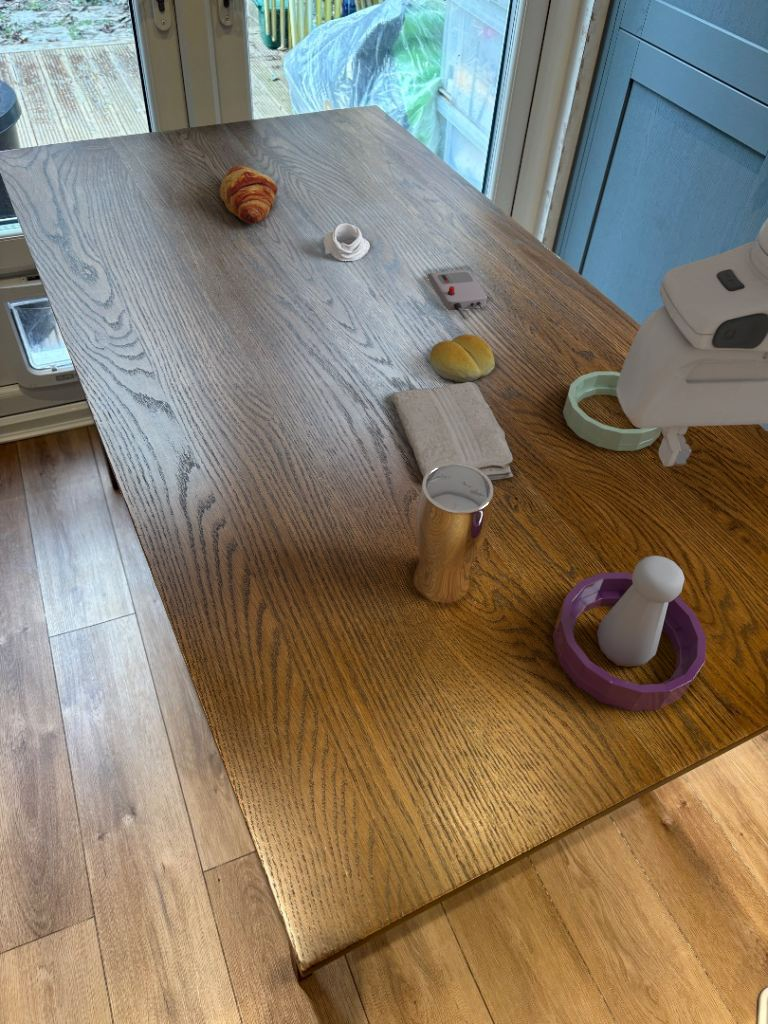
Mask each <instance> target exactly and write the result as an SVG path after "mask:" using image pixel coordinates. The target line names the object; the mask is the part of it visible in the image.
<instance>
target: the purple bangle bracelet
mask: <svg viewBox="0 0 768 1024" xmlns="http://www.w3.org/2000/svg"><path fill="white" fill-rule="evenodd" d="M632 576H633V573H630V572H626V571H622V572H621V571H619V572H599V573H597V574H595V575H592V576H589V577H587V578H585V579H581V580H580V581H578V582H577V583H576V584H575V585H574V587H572V589H571V590H570V591H569V592H568V593H567V594H566V596H564V598H563V601H562V604H561V607H560V609H559V611H558V615H557V617H556V621H555V624H554V625H555V627H554V630H553V636H552V641H553V645H554V648H555V652H556V655H557V660H558V662H559V665H561V667H562V669H563V670H564V671H565V673H566V674H567V675H568V677H569V678H570V680H572V681H573V683H574V684H575V685H576V686H577V687H579V688H580V690H582V691H584V692H585V693H587V694H589V695H590V696H591V697H592V698H594V699H596V700H597V701H598V702H600V703H603V704H605V705H609V706H612V707H616V708H618V709H622V710H625V711H629V712H640V711H643V712H644V711H658V710H661V709H663V708H665V707H667V706H669V705H671V704H673V703H675V702H677V701H679V700H680V699H682V697H683V695H684V694H685V692H686V691H687V690H688V688H689V687H690V685H691V684H692V683H693V682H694V680H695V678H696V676H697V675H698V674H699V672H700V670H701V668H702V667H703V666H704V664H705V663H706V651H707V650H706V649H707V637H706V634H705V632H704V630H703V627H702V625H701V623H700V620H699V618H698V616H697V614H696V613H695V612H694V611H693V610H692V609H691V607H690V606H689V605H688V604H687V603H686V602H685V601H684V599H682V597H680V596H679V595H678V596H677V597H676V598H675V599H674V600H672V601H671V602H668V607H667V611H666V615H665V619H664V623H663V627H662V632H663V633H664V634H665V635H666V636H667V637H668V639H669V641H670V644H671V646H672V649H673V651H674V654H675V663H674V672H673V673H672V675H671V676H670V678H669V679H666V680H665V681H662V682H661V683H651V684H649V683H648V684H639V683H635V682H632V681H629V680H625V679H622V678H619V677H616V676H613V675H612V674H610V673H608V672H607V671H606V670H604V669H603V668H601V667H600V666H598V665H597V664H596V663H594V662H593V661H591V660H590V659H589V657H588V656H587V655H586V653H585V652H584V651H583V650H582V648H581V647H580V646H579V644H578V643H577V642H576V639H575V634H574V631H575V626H576V622H577V621H578V620H579V619H580V617H581V616H582V615H583V614H584V613H586V612H589V611H591V610H593V609H596V608H598V607H611V606H612V607H614V605H615V604H616V603H617V602H618V601H619V600H620V598H621V597H622V596H623V595H624V594H625V593H626V591H627V590H628V589H629V588H630V587H631V586H632V584H633V582H632Z"/></svg>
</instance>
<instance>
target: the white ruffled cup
mask: <svg viewBox="0 0 768 1024" xmlns="http://www.w3.org/2000/svg"><path fill="white" fill-rule="evenodd" d="M322 242H323V246H324V253H325V254H326V255H331V256H332V257H333V258H335V259H336V260H338V261H341V262H344V261H345V263H347V262H346V261H352V262H356V261H358V260H360V259H362V258H363V257H364V256H366V255H367V253H368V252H369V250H370V247H371V245H370V242H369V241H368V240H367V239H366V238H365V237H363V234H362V232H361V230H360V229H359V227H357V226H356V225H354V224H350V223H347V222H346V223H345V222H344V223H340V224H338V225H337V226H335V227H334V229H333V231H330V232H328V233H326V234H325V236H324V237H323V241H322Z"/></svg>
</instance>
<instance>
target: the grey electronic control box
mask: <svg viewBox="0 0 768 1024" xmlns="http://www.w3.org/2000/svg"><path fill="white" fill-rule="evenodd" d="M426 278H427V280H428V279H429V280H428V281H429V283H430V285H431V284H432V285H431V286H432V288H433V289H435V290H434V292H435V293H436V294H437V296H438V298H439V297H440V298H439V300H440V301H441V303H442V302H443V303H442V305H443V306H444V308H445V307H446V308H445V309H446V310H447V309H448V310H447V311H450V310H457V311H456V312H458V313H459V315H461V317H462V318H463V319H464V320H466V317H467V316H466V315H465V313H464V310H463V309H470V310H476V309H475V308H477V309H481V310H482V311H483V310H484V307H486V306H487V301H488V295H487V294H486V293H485V291H484V290H483V288H482V287H481V285H480V284H479V282H478V281H477V280H476V278H475V277H474V275H473V273H472V272H471V271H470V270H469V269H455V270H444V271H436V272H435V271H434V272H429V273H427V277H426ZM485 305H486V306H485ZM483 306H484V307H483ZM479 307H480V308H479ZM472 308H474V309H472Z"/></svg>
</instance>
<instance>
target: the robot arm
mask: <svg viewBox="0 0 768 1024" xmlns="http://www.w3.org/2000/svg"><path fill="white" fill-rule="evenodd" d="M659 295H660V298H661V300H662V302H663V303H662V304H663V306H661V307H659V308H657V309H656V310H654V311H653V312H651V313H650V314H649V316H647V317H646V318H645V320H644V321H643V323H642V324H641V325H640V327H639V328H638V331H637V333H636V335H635V336H634V339H633V341H632V343H631V345H630V348H629V350H628V352H627V355H626V357H625V360H624V361H623V362H624V363H623V365H622V368H621V370H620V372H619V373H620V376H619V379H618V383H617V389H616V391H617V400H618V403H619V404H620V407H621V409H622V411H623V413H624V415H625V416H626V417H627V419H628V420H629V422H630V423H631V424H632V425H633V426H634V427H636V429H641V428H657V427H660V428H661V435H662V436H663V438H662V440H661V443H660V445H659V448H658V457H659V459H660V462H661V464H662V465H663V467H682V466H683V467H684V466H686V464H687V462H688V461H687V460H688V458H690V455H691V454H692V449H691V447H690V445H689V444H688V443H687V440H686V438H685V434H687V432H688V429H689V428H690V427H713V426H715V427H717V426H718V427H720V426H721V427H722V426H746V425H747V426H749V425H752V426H753V425H768V216H767V217H766V219H765V220H764V221H763V223H762V225H761V227H760V229H759V230H758V233H757V235H756V237H755V240H753V241H749V242H747V243H746V242H745V243H744V244H742V245H739V246H736V247H735V248H732V249H730V250H727V251H724V252H721V253H718V254H714V255H712V256H708V257H707V258H703V259H699V260H695V261H691V262H689V263H685V264H682V265H679V266H676V267H673V268H671V269H670V270H668V271H667V272H666V273H665V275H664V276H663V278H662V280H661V283H660V287H659Z"/></svg>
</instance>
